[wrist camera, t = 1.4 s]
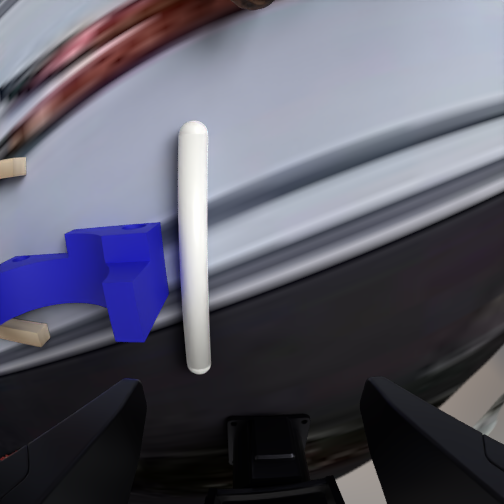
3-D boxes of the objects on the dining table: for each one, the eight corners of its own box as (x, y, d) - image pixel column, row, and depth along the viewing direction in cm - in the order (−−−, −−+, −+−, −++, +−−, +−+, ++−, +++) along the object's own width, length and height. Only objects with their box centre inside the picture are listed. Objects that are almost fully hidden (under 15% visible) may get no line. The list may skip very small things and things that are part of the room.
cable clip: (161, 221, 18) (127, 248, 12) (169, 292, 19) (144, 342, 14) (13, 235, 18) (-41, 259, 12) (25, 293, 19) (-21, 328, 13)
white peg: (212, 365, 21) (210, 379, 19) (189, 364, 21) (186, 378, 19) (210, 122, 16) (207, 118, 15) (181, 123, 16) (176, 119, 15)
